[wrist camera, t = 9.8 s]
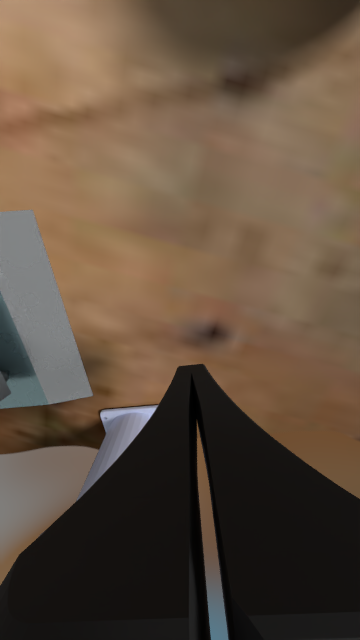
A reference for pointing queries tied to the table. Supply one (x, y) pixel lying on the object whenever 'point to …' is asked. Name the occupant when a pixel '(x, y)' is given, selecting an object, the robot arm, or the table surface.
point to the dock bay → (34, 321)
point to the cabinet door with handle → (4, 385)
